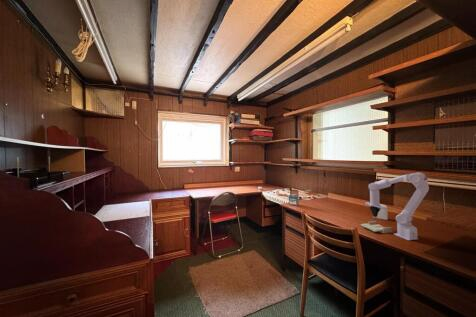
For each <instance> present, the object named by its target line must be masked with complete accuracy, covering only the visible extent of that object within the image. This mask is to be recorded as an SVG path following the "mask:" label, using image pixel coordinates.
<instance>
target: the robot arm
mask: <svg viewBox="0 0 476 317" xmlns="http://www.w3.org/2000/svg"><path fill="white" fill-rule="evenodd" d="M403 181H404V182H410V183H411V184H412V185H413V186H414V188H416V190H415V191H414V192H413V195H412V196H411V197H410V199H409V201H408V202H407V204H406V205H405V207H404V209H402V211H400V213H399V214H397V215H396V216H395V221H396V224H397V225H396V230H397V232H396V233H393V235H395V236H397V237H398V238H401V239H404V240H406V241H412V240H419V238H418V228H417V227H416V226H414V225H413V224H412V220H413V219H414V218H413V217H414V216H413V215H414V213H415V211H416V210H417V208H418V207H419V205H420V204H421V202H422V201H423V199H424V198H425V197H426V195H427V193H428V192H429V190H430V186H429V180H428V177H427V176H426V174H424V173H423V172H421V171H420V172H419V171H418V172H413V173H408V174H407V173H406V174H403V175H400V176H399V175H398V176H396V177H394V178H391V179H387V178H382V179H381V180H378V181H377V180H375V181H374V182H371V183H368V187H367V188H368V190H369V201H370V202H368V201H365V206H369V210H370V212H371V213H372V218H373V217H377V215H378V212H379V211H380V209H382V210H385V207H384V206H381V205H380V204H381V203H380V199H381V198H380V190H382V189H386V188H389V187H391V186H392V184H396V183H400V182H403Z"/></svg>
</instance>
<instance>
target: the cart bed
mask: <svg viewBox="0 0 476 317" xmlns="http://www.w3.org/2000/svg"><path fill="white" fill-rule="evenodd" d="M367 224H370V225H372V226H375V227H377V228H379V229H382V231H378V232H379V233H381V234H386V233H393V227H392V226H383V225H382V224H378V223H377V220H371V221H367Z"/></svg>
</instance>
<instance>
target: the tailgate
mask: <svg viewBox="0 0 476 317" xmlns="http://www.w3.org/2000/svg"><path fill="white" fill-rule="evenodd" d="M360 226H361V227H362V228H363V227H364V228H366V229H368V230H370V231H372V232H375V233H376V232H379V231H382V229H379V228H377V227H375V226H372V225H370V224H368V222H366V223H365V222H364V223H360Z"/></svg>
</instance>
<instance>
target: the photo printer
mask: <svg viewBox="0 0 476 317" xmlns="http://www.w3.org/2000/svg"><path fill="white" fill-rule="evenodd" d="M380 205H381V206H384V207H385V210H382V209H380V211H379V212H378V215H377V217H373V216H372V218H375V219H378V220H383V221H384V220H385V221H388V219H389V217H388V216H389V214H388V206H387V205H385V204H381V203H380Z"/></svg>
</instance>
